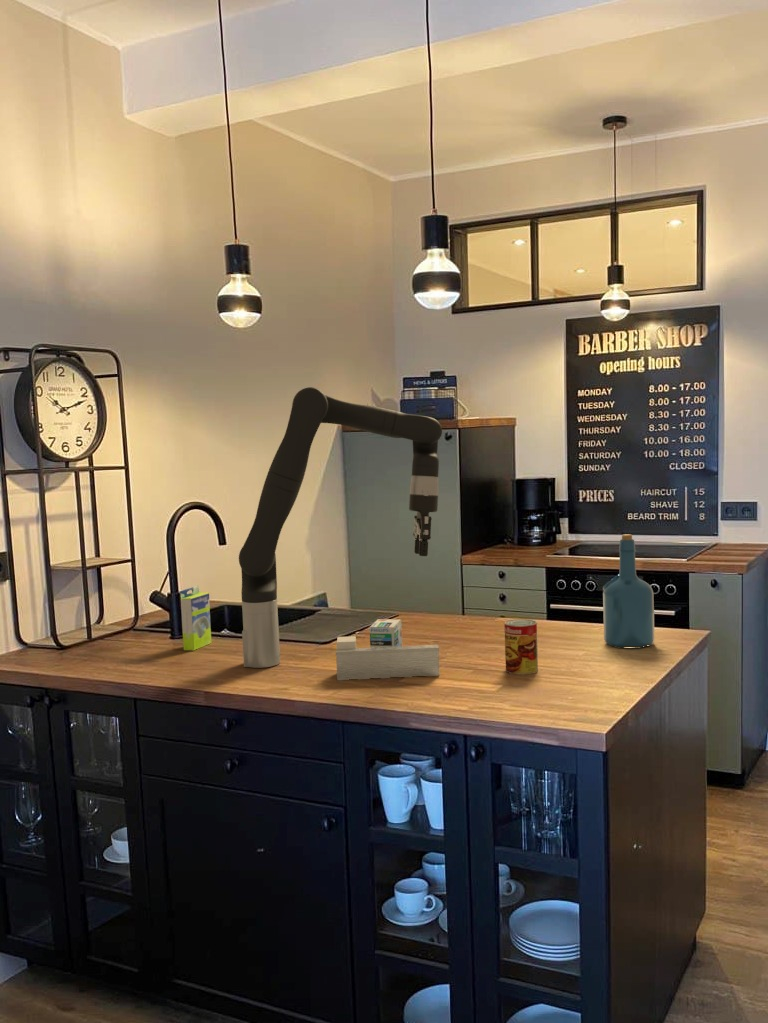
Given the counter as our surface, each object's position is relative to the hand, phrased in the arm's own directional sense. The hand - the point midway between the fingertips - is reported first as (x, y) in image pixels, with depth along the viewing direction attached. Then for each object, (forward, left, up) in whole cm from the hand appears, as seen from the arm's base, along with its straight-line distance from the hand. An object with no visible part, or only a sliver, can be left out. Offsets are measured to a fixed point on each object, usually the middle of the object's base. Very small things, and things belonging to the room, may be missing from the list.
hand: (420, 554), depth 240 cm
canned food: (+23, -18, -28) cm, 40 cm away
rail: (-10, -17, -27) cm, 34 cm away
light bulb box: (-10, -5, -28) cm, 30 cm away
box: (-65, +25, -28) cm, 75 cm away
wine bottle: (+56, +5, -28) cm, 63 cm away
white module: (-20, -15, -27) cm, 37 cm away
